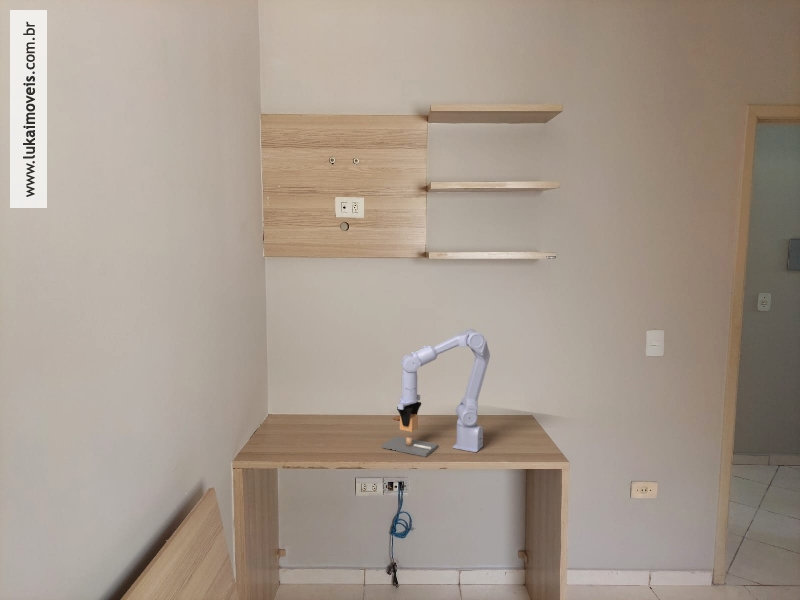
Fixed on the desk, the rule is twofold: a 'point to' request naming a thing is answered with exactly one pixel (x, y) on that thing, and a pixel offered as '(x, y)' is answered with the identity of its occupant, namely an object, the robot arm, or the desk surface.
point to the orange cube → (410, 423)
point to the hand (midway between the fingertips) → (409, 423)
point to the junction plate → (410, 446)
